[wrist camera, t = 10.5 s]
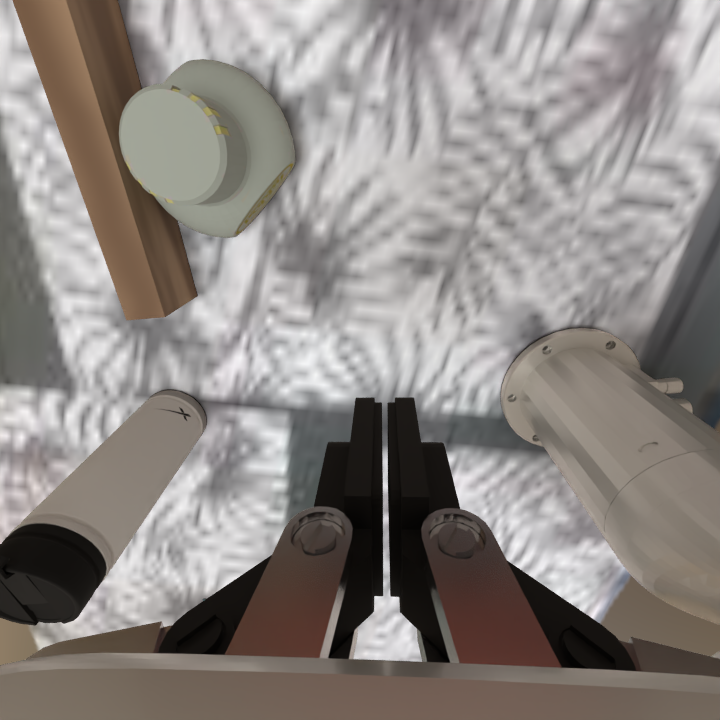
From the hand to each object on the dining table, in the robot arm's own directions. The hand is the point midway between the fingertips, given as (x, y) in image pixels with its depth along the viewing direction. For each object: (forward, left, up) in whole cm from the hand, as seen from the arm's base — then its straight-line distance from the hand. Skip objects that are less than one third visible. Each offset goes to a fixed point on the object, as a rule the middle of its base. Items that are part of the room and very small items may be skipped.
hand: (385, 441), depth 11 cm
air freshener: (+10, -10, -24) cm, 28 cm away
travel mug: (+21, +13, -24) cm, 35 cm away
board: (+17, -10, -24) cm, 31 cm away
